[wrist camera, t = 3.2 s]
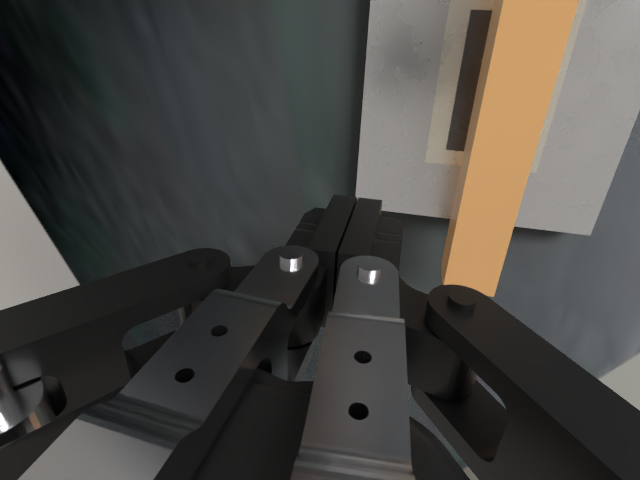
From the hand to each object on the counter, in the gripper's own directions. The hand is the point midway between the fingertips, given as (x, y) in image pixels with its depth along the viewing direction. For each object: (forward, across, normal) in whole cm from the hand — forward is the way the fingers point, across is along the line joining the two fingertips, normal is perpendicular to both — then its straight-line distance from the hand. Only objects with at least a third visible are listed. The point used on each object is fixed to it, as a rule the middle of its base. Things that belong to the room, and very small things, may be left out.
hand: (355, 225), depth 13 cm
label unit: (+18, -6, -2) cm, 20 cm away
